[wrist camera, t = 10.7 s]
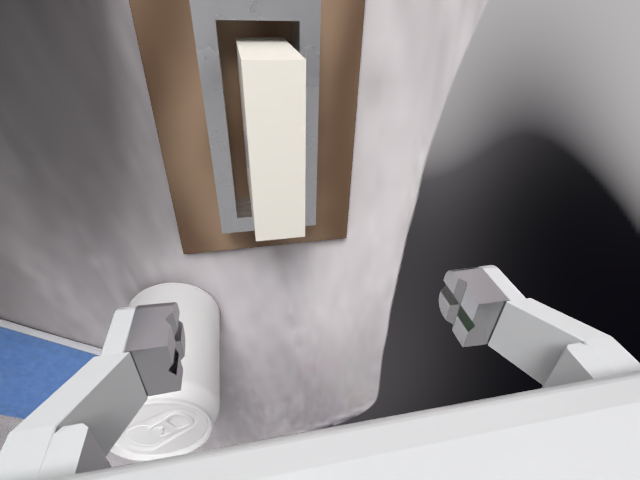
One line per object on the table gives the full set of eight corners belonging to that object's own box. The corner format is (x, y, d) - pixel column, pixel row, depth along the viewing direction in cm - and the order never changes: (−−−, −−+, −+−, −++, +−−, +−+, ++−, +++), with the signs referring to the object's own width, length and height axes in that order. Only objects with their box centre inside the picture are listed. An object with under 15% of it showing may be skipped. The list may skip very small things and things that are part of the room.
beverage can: (107, 305, 34) (62, 436, 24) (184, 263, 33) (169, 380, 24) (167, 352, 39) (150, 476, 29) (236, 316, 38) (241, 432, 28)
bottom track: (310, -6, 23) (321, -4, 21) (308, 206, 32) (315, 225, 29) (191, -9, 22) (188, -8, 20) (221, 213, 30) (222, 233, 28)
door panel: (284, 37, 24) (308, 59, 18) (287, 180, 30) (306, 236, 24) (233, 37, 24) (238, 59, 17) (246, 183, 29) (254, 241, 23)
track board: (367, -78, 23) (371, -79, 22) (343, 233, 35) (346, 238, 34) (111, -94, 20) (108, -96, 19) (184, 248, 32) (183, 254, 32)
